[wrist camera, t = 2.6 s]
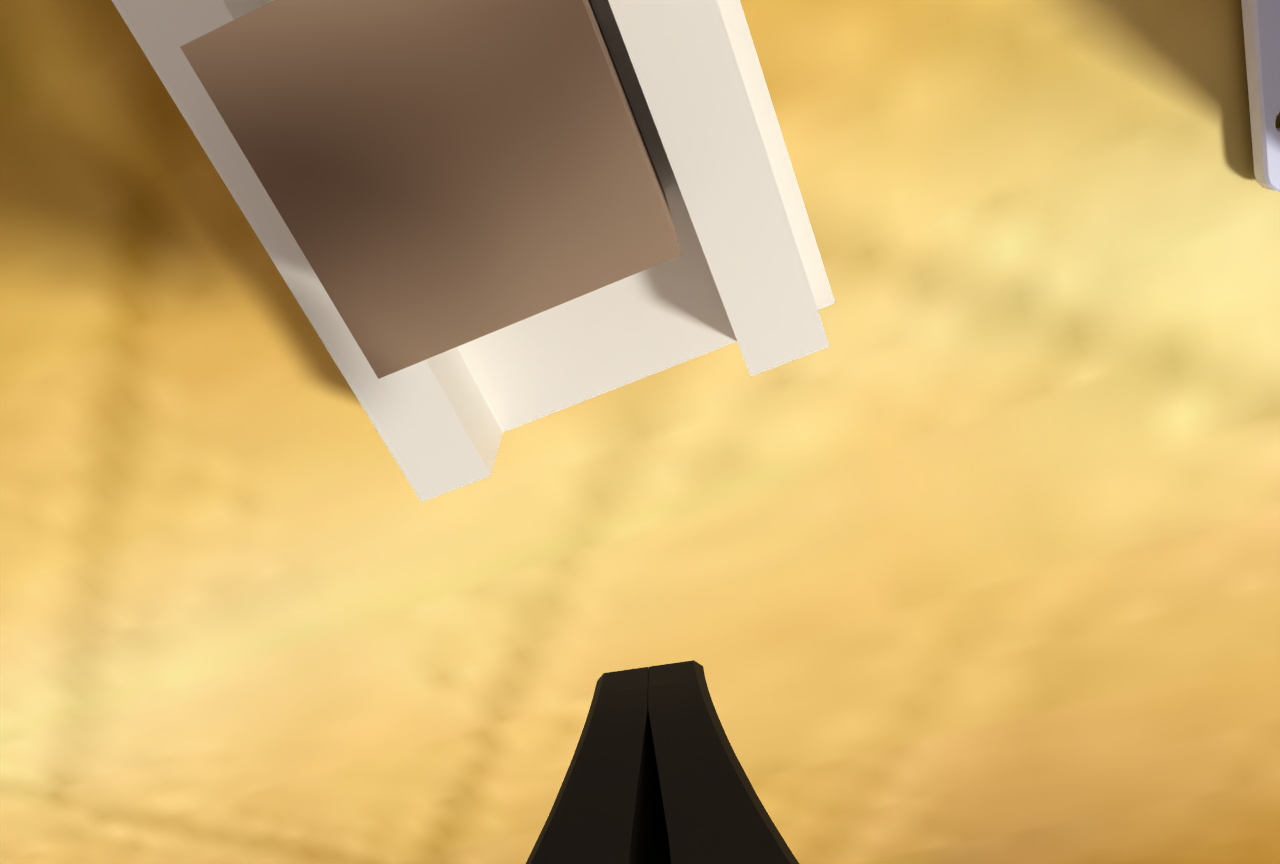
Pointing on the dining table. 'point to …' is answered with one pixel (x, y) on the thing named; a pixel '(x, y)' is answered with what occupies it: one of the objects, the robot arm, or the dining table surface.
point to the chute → (605, 318)
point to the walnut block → (441, 159)
